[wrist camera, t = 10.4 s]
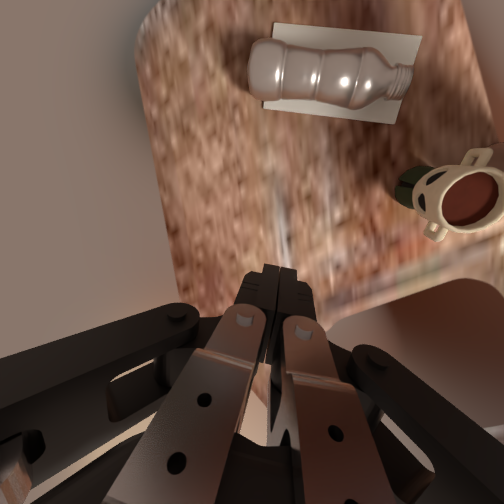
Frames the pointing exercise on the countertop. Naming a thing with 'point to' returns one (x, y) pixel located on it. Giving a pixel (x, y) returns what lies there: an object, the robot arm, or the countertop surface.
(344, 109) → the mat
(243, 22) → the countertop surface
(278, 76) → the plastic bottle
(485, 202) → the character mug
